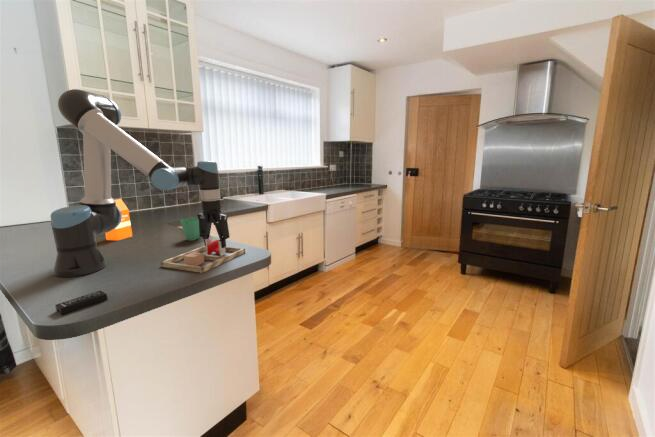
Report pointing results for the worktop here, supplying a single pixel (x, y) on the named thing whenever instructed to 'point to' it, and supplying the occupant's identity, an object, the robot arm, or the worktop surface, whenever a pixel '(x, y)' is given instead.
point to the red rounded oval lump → (213, 247)
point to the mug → (190, 228)
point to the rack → (216, 259)
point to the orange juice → (121, 224)
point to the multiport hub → (81, 302)
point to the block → (194, 259)
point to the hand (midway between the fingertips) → (216, 254)
